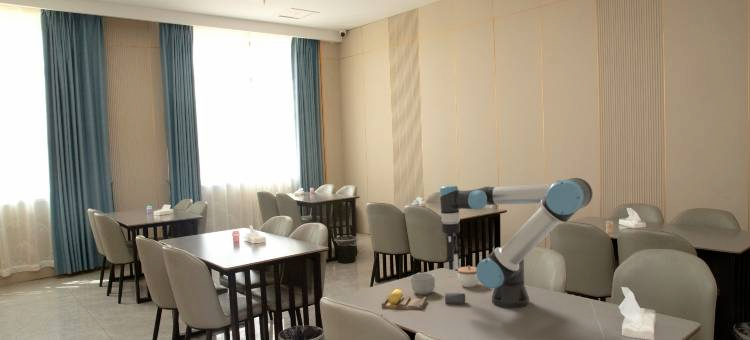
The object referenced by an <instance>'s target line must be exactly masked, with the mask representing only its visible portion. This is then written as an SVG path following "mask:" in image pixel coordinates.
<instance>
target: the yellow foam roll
mask: <svg viewBox="0 0 750 340" xmlns="http://www.w3.org/2000/svg"><path fill="white" fill-rule="evenodd" d="M403 294H404V293H403V290H401V289H399V288H396V289H394V290H393V291H392V292H391V293H390V295H388V296H389V297H388V301H389V303H390V304H392V305H395V304H397V303H398V302H399V300H400V299H401V298H403Z"/></svg>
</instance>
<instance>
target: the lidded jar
mask: <svg viewBox="0 0 750 340" xmlns="http://www.w3.org/2000/svg"><path fill="white" fill-rule="evenodd" d="M476 268H477V266H471V265H467V266H461V267H459V269H457V278H458V280H459V282H460V284H462V286H463V287H464V288H465V287H466V288H475V287H476V286H477V285H478V284H479V283H480V281H479V279H478V277H477V272H476Z"/></svg>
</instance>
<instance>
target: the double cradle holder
mask: <svg viewBox="0 0 750 340" xmlns="http://www.w3.org/2000/svg"><path fill="white" fill-rule="evenodd" d="M389 296H390V295H387V296H386V297H385V299H384V300H383V301H382V302H381V309H394V310H395V309H396V310H414V311H415V310H417V311H418V310H419V311H421V310H423V309H424V307H425V305H426V303H427V296H423V298H411V296H410V295H409V296H408V295H407V296H406V295H404V296H402V298H401V299H400V300H399V302H398V303H397V304H395V305H392V304H390V303H389V301H388V297H389Z"/></svg>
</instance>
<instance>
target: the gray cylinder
mask: <svg viewBox="0 0 750 340" xmlns="http://www.w3.org/2000/svg"><path fill="white" fill-rule="evenodd" d="M444 302H445V304H451V305H465V304H466V293H463V292H462V293H459V292H445V296H444Z"/></svg>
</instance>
